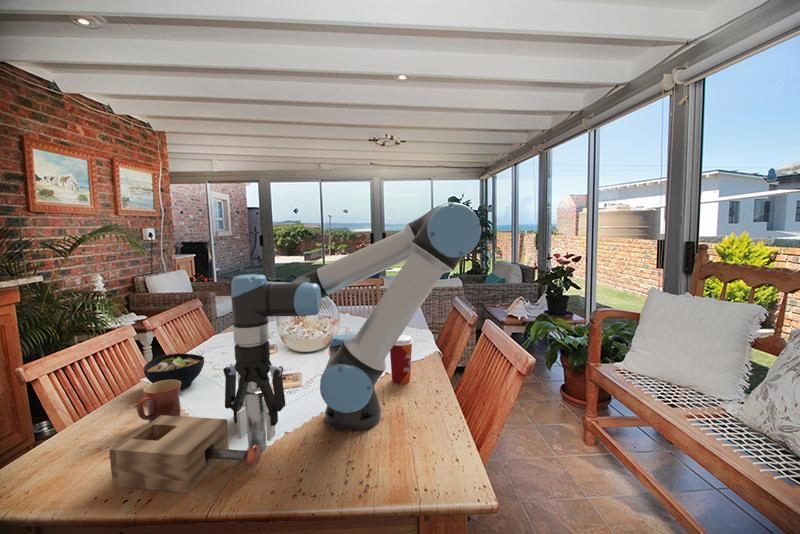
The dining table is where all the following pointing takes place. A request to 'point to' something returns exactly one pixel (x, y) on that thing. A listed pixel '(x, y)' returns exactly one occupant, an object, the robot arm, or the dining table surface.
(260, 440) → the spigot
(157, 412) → the mug
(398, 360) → the coffee cup
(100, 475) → the dining table surface
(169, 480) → the dock
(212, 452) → the lock pin
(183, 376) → the bowl
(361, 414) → the robot arm
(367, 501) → the dining table surface
